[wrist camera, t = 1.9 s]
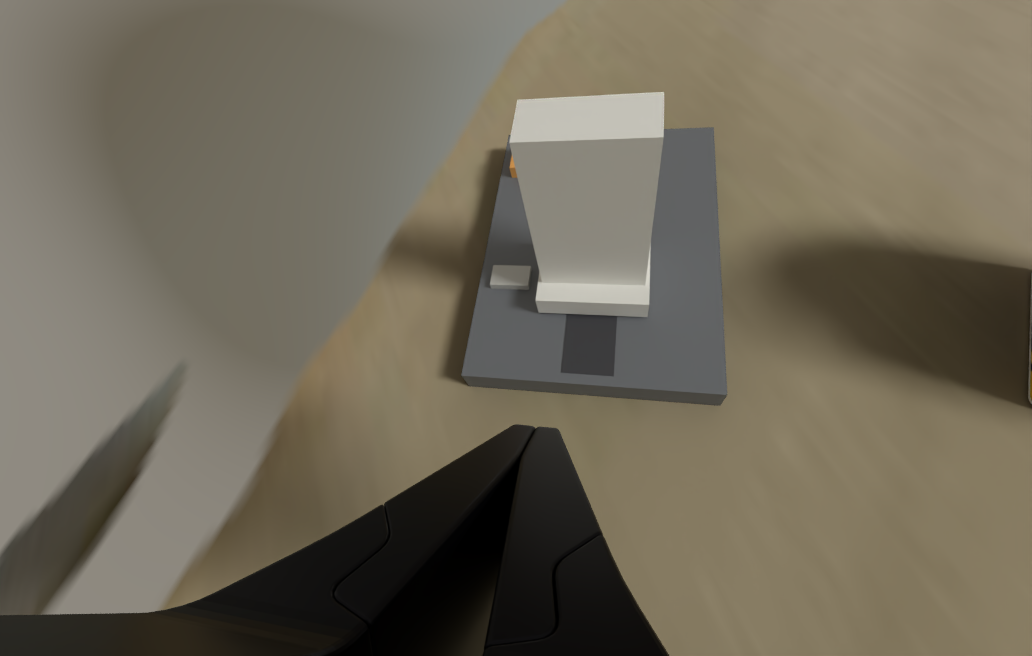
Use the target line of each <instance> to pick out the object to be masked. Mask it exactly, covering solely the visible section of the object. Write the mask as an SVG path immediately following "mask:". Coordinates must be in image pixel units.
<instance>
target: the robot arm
mask: <svg viewBox="0 0 1032 656" xmlns="http://www.w3.org/2000/svg"><path fill="white" fill-rule="evenodd" d="M0 656H669V654H668V653H667V651H666V649H665V648H664V646H663V645H662V643H661V641H660V640H659V638H658V636H657V635H656V633H655V632H654V630H653V628H652V627H651V625H650V624H649V622H648V620H647V619H646V617H645V615H644V614H643V612H642V611H641V609H640V607H639V606H638V604H637V602H636V600H635V599H634V597H633V595H632V593H631V592H630V590H629V588H628V586H627V585H626V583H625V581H624V579H623V577H622V575H621V573H620V571H619V569H618V567H617V565H616V563H615V561H614V559H613V556H612V554H611V552H610V550H609V547H608V545H607V543H606V540H605V538H604V537H603V534H602V531H601V529H600V527H599V524H598V522H597V519H596V517H595V515H594V512H593V510H592V508H591V505H590V503H589V500H588V498H587V496H586V493H585V491H584V489H583V486H582V484H581V481H580V479H579V477H578V474H577V472H576V470H575V467H574V465H573V462H572V460H571V458H570V455H569V453H568V450H567V448H566V446H565V443H564V441H563V439H562V436H561V434H560V432H559V430H558V429H557V428H548V427H537V428H536V429H535V427H533V426H527V425H513V426H511V427H509V428H508V429H506V430H504V431H503V432H501V433H499V434H498V435H496V436H494V437H493V438H491V439H489V440H488V441H486V442H484V443H483V444H481V445H479V446H478V447H476V448H474V449H473V450H471V451H470V452H468V453H466V454H465V455H463V456H461V457H460V458H458V459H456V460H455V461H453V462H451V463H450V464H448V465H446V466H445V467H443V468H441V469H440V470H438V471H436V472H435V473H433V474H431V475H430V476H428V477H426V478H425V479H423V480H422V481H420V482H418V483H417V484H415V485H413V486H412V487H410V488H408V489H407V490H405V491H403V492H402V493H400V494H398V495H397V496H395V497H393V498H392V499H390V500H388V501H387V502H385V504H384V505H380V506H378V507H377V508H375V509H373V510H372V511H370V512H368V513H367V514H365V515H363V516H362V517H360V518H358V519H356V520H355V521H353V522H351V523H349V524H348V525H346V526H344V527H342V528H341V529H339V530H337V531H335V532H334V533H332V534H330V535H328V536H326V537H324V538H322V539H320V540H318V541H316V542H314V543H313V544H311V545H309V546H307V547H305V548H303V549H301V550H299V551H297V552H295V553H293V554H291V555H289V556H287V557H285V558H283V559H281V560H279V561H277V562H275V563H273V564H271V565H269V566H267V567H265V568H263V569H261V570H259V571H257V572H255V573H253V574H251V575H249V576H247V577H245V578H243V579H241V580H239V581H237V582H235V583H233V584H231V585H229V586H227V587H225V588H223V589H221V590H219V591H217V592H215V593H213V594H211V595H209V596H206V597H204V598H202V599H200V600H197V601H194V602H191V603H188V604H186V605H183V606H179V607H175V608H171V609H167V610H161V611H155V612H149V613H120V614H119V613H118V614H62V615H61V614H60V615H3V616H0Z"/></svg>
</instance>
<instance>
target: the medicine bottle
mask: <svg viewBox="0 0 1032 656" xmlns="http://www.w3.org/2000/svg"><path fill="white" fill-rule="evenodd" d="M1028 399H1029V402H1030V403H1031V404H1032V272H1031V306H1030V343H1029V381H1028Z"/></svg>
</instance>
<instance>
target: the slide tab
mask: <svg viewBox="0 0 1032 656" xmlns="http://www.w3.org/2000/svg"><path fill="white" fill-rule="evenodd" d="M663 138H664V92H653V93H635V94H616V95H598V96H579V97H561V98H542V99H524V100H518V101H517V106H516V111H515V116H514V121H513V126H512V131H511V136H510V141H509V144H510V148H511V152H512V157H513V161H514V165H515V169H516V174H517V178H518V182H519V186H520V191H521V195H522V199H523V204H524V208H525V212H526V216H527V221H528V225H529V229H530V233H531V238H532V242H533V246H534V251H535V255H536V259H537V263H538V268H539V278H538V285H537V293H536V300H535V301H536V305H537V308H538V312H539V313H560V314H584V315H608V316H631V317H648V310H649V294H650V250H651V235H652V227H653V219H654V211H655V203H656V195H657V186H658V178H659V170H660V162H661V154H662V146H663Z"/></svg>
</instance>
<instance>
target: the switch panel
mask: <svg viewBox="0 0 1032 656" xmlns="http://www.w3.org/2000/svg"><path fill="white" fill-rule="evenodd" d="M510 136H511V135H509V137H508V142H507V147H506V153H505V158H504V163H503V168H502V173H501V178H500V183H499V188H498V193H497V198H496V203H495V208H494V213H493V218H492V223H491V228H490V233H489V238H488V243H487V248H486V253H485V258H484V263H483V268H482V273H481V278H480V283H479V289H478V294H477V299H476V304H475V309H474V314H473V319H472V324H471V329H470V334H469V339H468V344H467V349H466V354H465V359H464V364H463V369H462V374H461V376H462V377H463V379H464V380H465V381H466V382H467V384H468V385H469V386H475V387H488V388H501V389H514V390H527V391H539V392H552V393H565V394H578V395H591V396H604V397H617V398H630V399H642V400H655V401H668V402H681V403H694V404H707V405H721V404H722V402H723V401H724V399H725V398H726V396H727V381H726V361H725V342H724V322H723V303H722V283H721V263H720V244H719V224H718V204H717V185H716V165H715V146H714V127H711V128H685V129H664V138H663V146H662V154H661V162H660V170H659V178H658V186H657V195H656V203H655V211H654V219H653V227H652V235H651V250H650V294H649V310H648V317H631V316H608V315H584V314H560V313H539V312H538V308H537V305H536V301H535V300H536V293H537V285H538V278H539V268H538V263H537V259H536V255H535V251H534V246H533V242H532V238H531V233H530V229H529V225H528V221H527V216H526V212H525V208H524V204H523V199H522V195H521V191H520V186H519V182H518V178H517V174H516V169H515V165H514V161H513V157H512V152H511V148H510V144H509V141H510Z"/></svg>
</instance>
